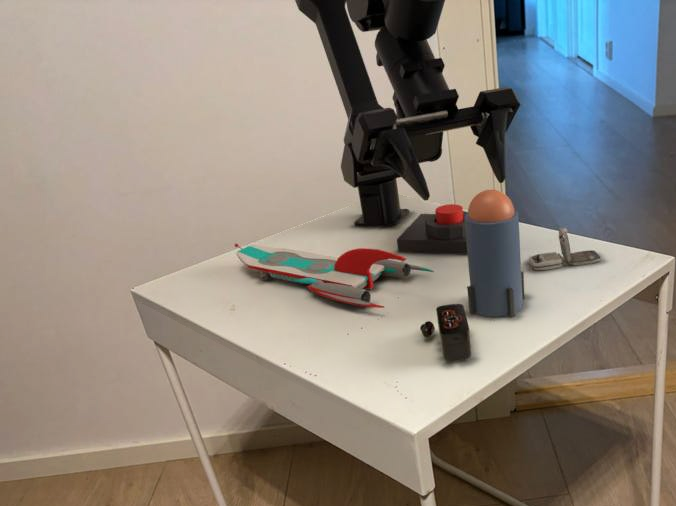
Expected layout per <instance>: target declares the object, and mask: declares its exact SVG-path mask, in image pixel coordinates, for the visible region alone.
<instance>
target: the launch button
mask: <svg viewBox="0 0 676 506" xmlns="http://www.w3.org/2000/svg"><path fill="white" fill-rule="evenodd" d="M463 211H464V208H463V206H462V205H461V204H456V203H455V204H453V203H451V204H443V205H440V206H437V207H436V208H435V214H436V221H437V223H438V224H445V225H450V224H456V223H459V222H462V221H464V218H463Z"/></svg>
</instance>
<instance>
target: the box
mask: <svg viewBox="0 0 676 506" xmlns="http://www.w3.org/2000/svg"><path fill="white" fill-rule="evenodd" d="M467 212H468V211H465V210H463V218H464V216H465V214H466V213H467ZM396 245H397V252H398V253H419V254H444V255H445V254H446V255H447V254H448V255H468V254H467V242H466V231H465V220H464V221H462V222H459V223H456V224H450V225H445V224H438V223H437V221H436V213H420V214H419V215H418V216H417V217H416V219H414V220H413V222H411V224H410V225H408V227H407V228H406V229H405V230H404V231H403V232H402V233H401V234H400V235H399V237H397V238H396Z"/></svg>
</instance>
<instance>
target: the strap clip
mask: <svg viewBox="0 0 676 506" xmlns="http://www.w3.org/2000/svg"><path fill="white" fill-rule="evenodd" d="M568 233H569V231H568V229H567V228H566V227H560V228H558V240H559V246H560V251H561V253H560V252H558V253H557V252H556V251H552V252H545V253H543V252H542V253H537V254H534V255H531V256H529V258H528V263H529V264H530V266H531V268H532V269H533V270H535V271H548V270H552V269H553V270H554V269H559V268H562V267H563V266H564V265H565V263H564V261H566V262H567V264H569V265H572V266H579V265H580V266H582V265H589V264H595V263H597V262H599V261H601V255H599V254H598V253H597V251H596V250H583V251H575V252H571V246H570V240H569V236H568ZM589 255H593V256H594V257H593V258H591V257H590V256H589Z"/></svg>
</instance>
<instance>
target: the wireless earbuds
mask: <svg viewBox="0 0 676 506" xmlns="http://www.w3.org/2000/svg"><path fill="white" fill-rule="evenodd" d="M435 310H436V318H437V326H438V334H439V340H440V346H441V347H440V348H441V352H442V358H443V359H444V361H446V362H447V363H451V362H459V361H467V360H470V358H471V357H472V345H471V332H470V331H471V330H470V326H469V323H468V322H469V321H468V318H467V314H466V310H465V306H464V305H463V304H462V303H452V304H445V305H439V306H437V307H436V308H435ZM419 329H420V331H421V334H422V337H424V338H431V337H432V336H433V334H434V333H435V331H436V327H435V324H434V323H433V322H432V321H431V320H427V321H425V322H424V323H422V324H421V325H420V327H419Z"/></svg>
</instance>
